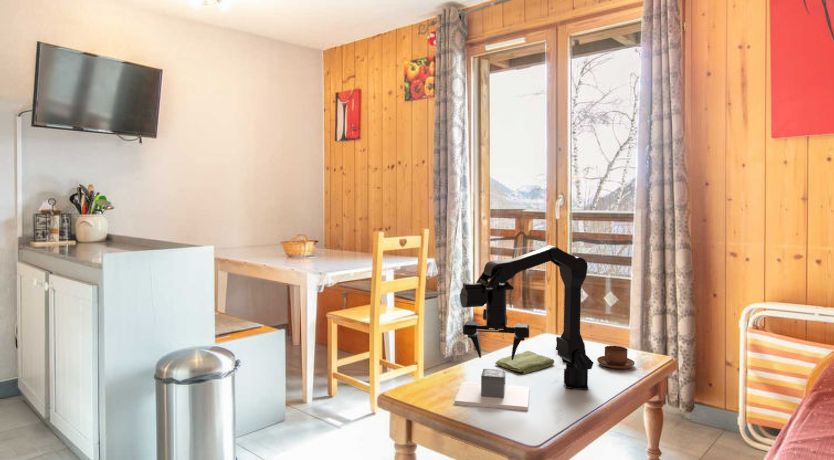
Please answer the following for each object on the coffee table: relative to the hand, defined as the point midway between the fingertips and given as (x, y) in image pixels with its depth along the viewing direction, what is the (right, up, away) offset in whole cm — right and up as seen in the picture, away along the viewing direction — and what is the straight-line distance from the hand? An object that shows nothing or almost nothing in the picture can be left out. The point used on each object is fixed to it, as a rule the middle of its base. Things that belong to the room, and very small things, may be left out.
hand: (496, 358), depth 156 cm
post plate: (-1, -11, -1) cm, 11 cm away
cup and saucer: (+45, -10, +28) cm, 54 cm away
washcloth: (+14, -10, +29) cm, 33 cm away
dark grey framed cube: (-1, -10, -1) cm, 10 cm away
